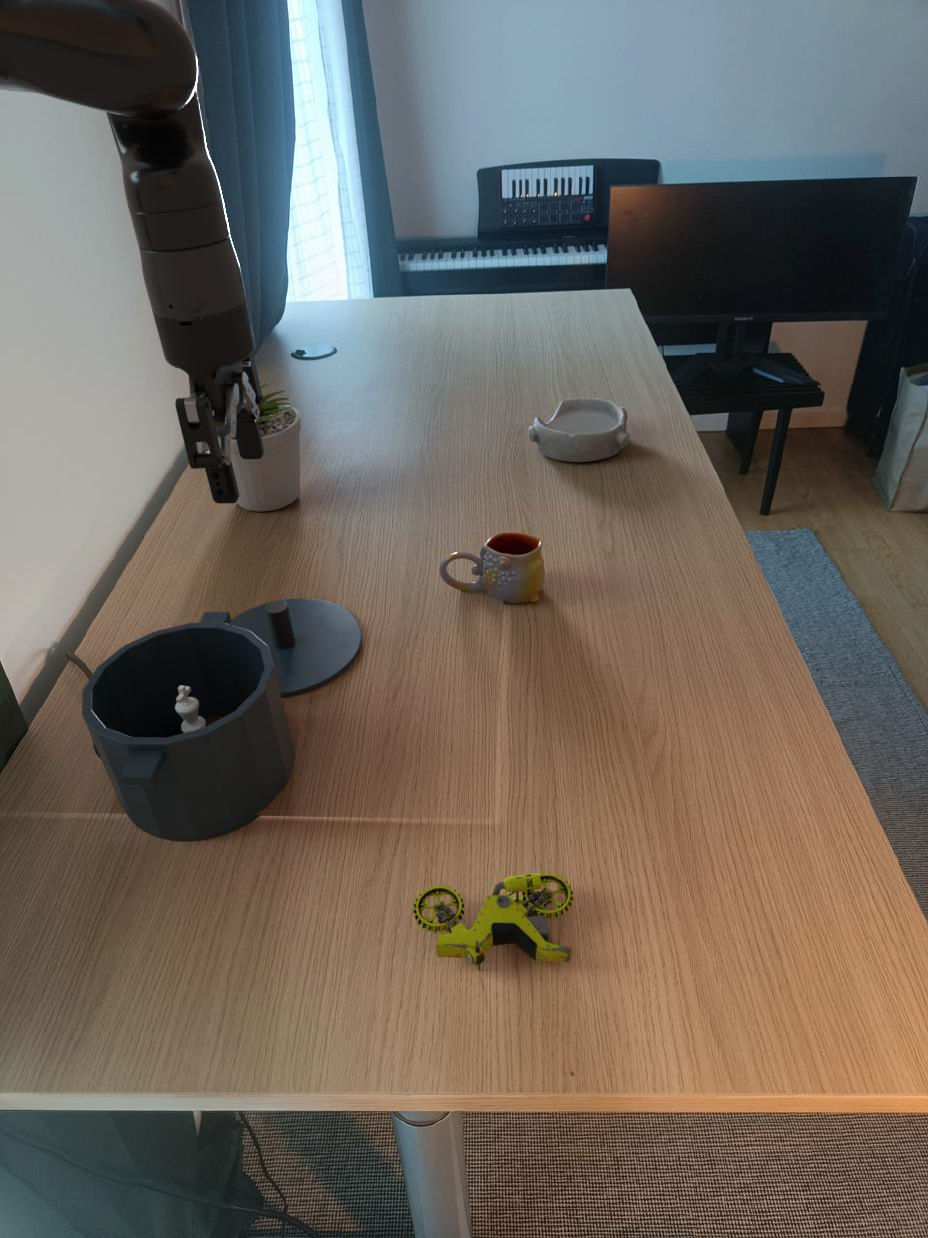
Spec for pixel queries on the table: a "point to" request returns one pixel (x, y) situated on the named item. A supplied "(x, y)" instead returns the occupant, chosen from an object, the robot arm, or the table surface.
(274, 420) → the potted plant
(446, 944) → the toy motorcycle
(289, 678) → the lid
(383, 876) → the table surface
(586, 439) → the dish
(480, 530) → the table surface
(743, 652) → the table surface
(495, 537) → the mug
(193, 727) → the chess piece
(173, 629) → the pot
